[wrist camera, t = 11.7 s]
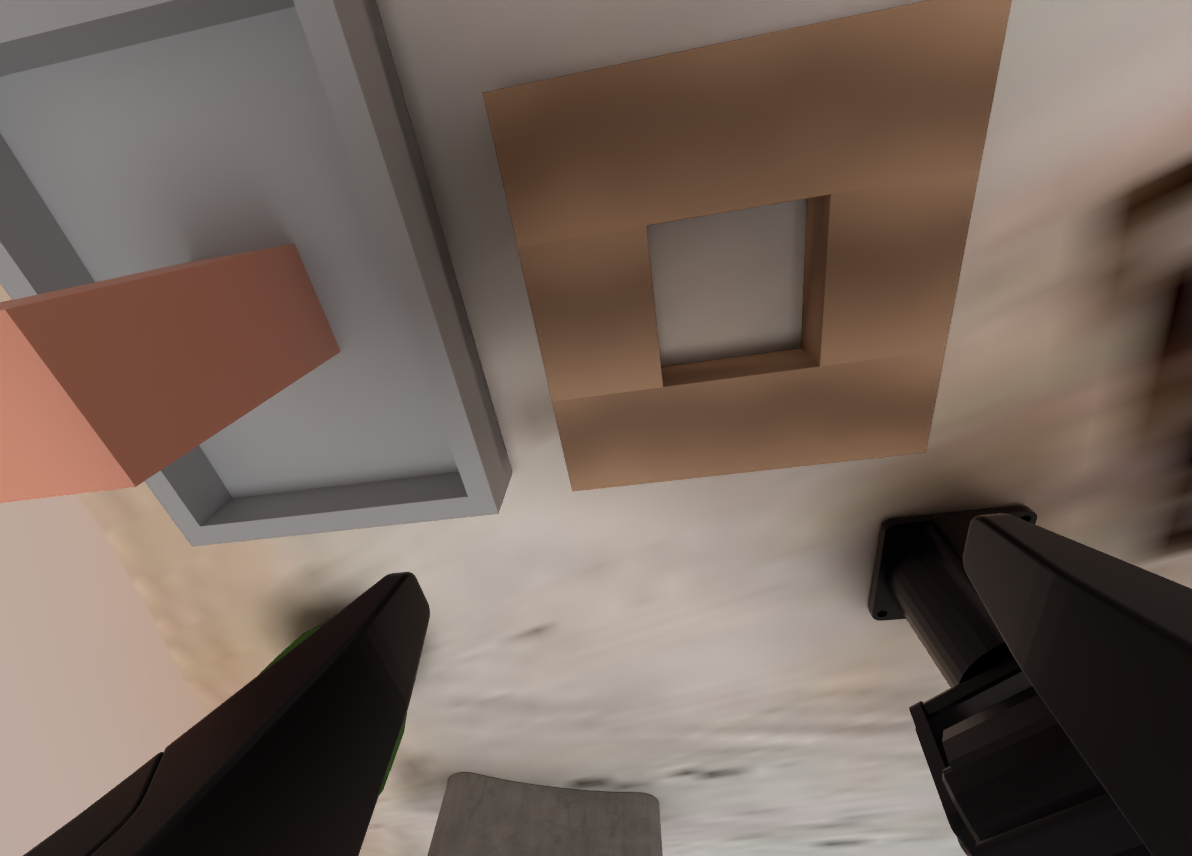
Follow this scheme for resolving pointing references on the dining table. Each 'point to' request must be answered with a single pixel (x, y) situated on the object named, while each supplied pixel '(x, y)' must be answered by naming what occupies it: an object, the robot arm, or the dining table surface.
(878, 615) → the robot arm
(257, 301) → the brown tall block
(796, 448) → the socket block
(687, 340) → the dining table surface
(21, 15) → the tray
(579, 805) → the hip flask
